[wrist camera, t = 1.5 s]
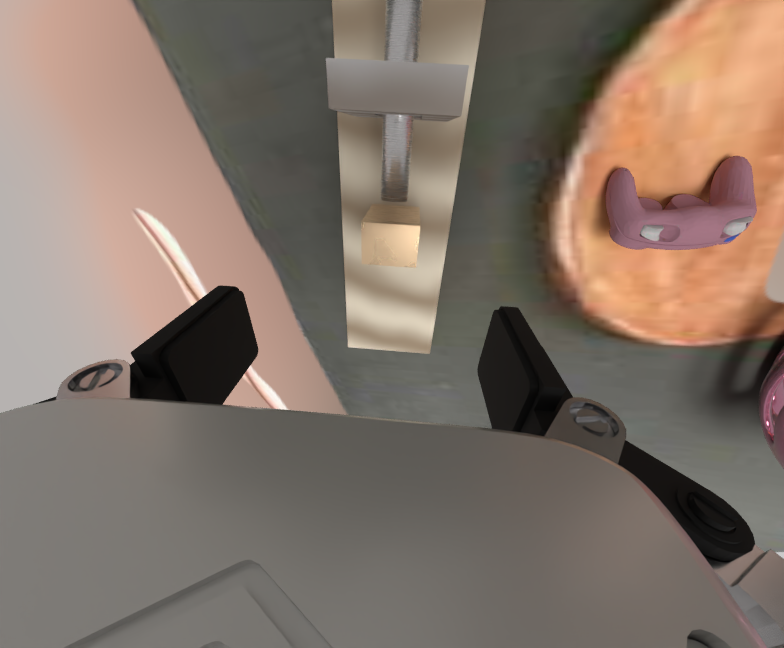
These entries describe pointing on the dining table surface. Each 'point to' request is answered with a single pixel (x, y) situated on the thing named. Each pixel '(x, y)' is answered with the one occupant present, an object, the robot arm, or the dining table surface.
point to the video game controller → (682, 211)
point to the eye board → (428, 156)
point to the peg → (395, 156)
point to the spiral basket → (773, 407)
